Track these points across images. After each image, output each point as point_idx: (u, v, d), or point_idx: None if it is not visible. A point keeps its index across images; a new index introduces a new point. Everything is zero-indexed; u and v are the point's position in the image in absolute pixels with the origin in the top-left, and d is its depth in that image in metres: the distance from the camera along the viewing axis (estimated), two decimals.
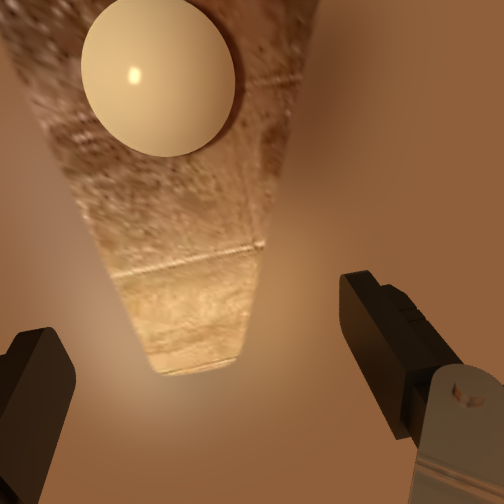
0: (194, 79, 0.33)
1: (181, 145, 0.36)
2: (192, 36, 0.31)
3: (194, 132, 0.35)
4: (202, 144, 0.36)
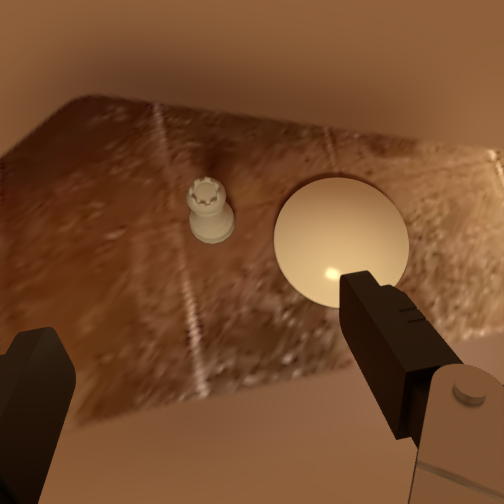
0: (337, 211, 0.37)
1: (396, 225, 0.36)
2: (303, 211, 0.37)
3: (383, 213, 0.37)
4: (393, 206, 0.37)
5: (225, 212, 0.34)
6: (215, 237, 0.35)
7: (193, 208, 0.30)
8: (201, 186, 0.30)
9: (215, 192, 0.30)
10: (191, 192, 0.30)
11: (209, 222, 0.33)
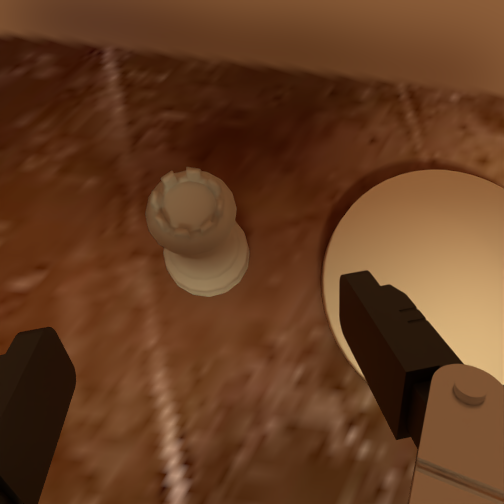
0: (438, 231, 0.20)
1: None
2: (375, 233, 0.20)
3: None
4: None
5: (233, 240, 0.17)
6: (214, 287, 0.18)
7: (162, 241, 0.13)
8: (179, 189, 0.13)
9: (212, 203, 0.13)
10: (156, 204, 0.13)
11: (200, 264, 0.16)
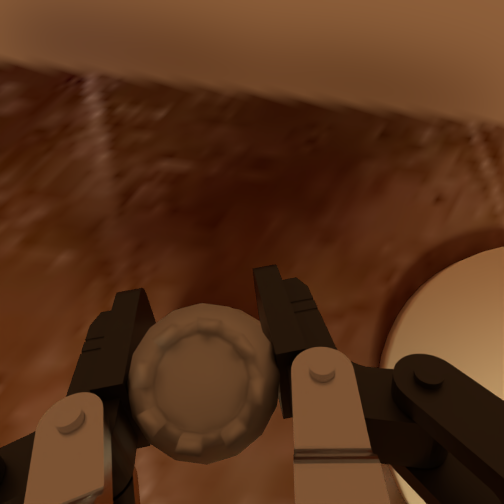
0: None
1: None
2: (453, 337, 0.14)
3: None
4: None
5: None
6: None
7: (154, 441, 0.08)
8: (184, 353, 0.08)
9: (241, 379, 0.07)
10: (144, 386, 0.07)
11: None
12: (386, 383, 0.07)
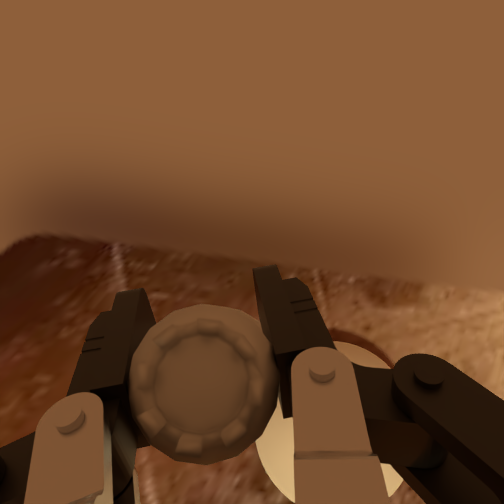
0: None
1: None
2: None
3: None
4: None
5: None
6: None
7: (154, 442, 0.08)
8: (184, 354, 0.08)
9: (241, 380, 0.07)
10: (144, 387, 0.07)
11: None
12: (386, 383, 0.07)
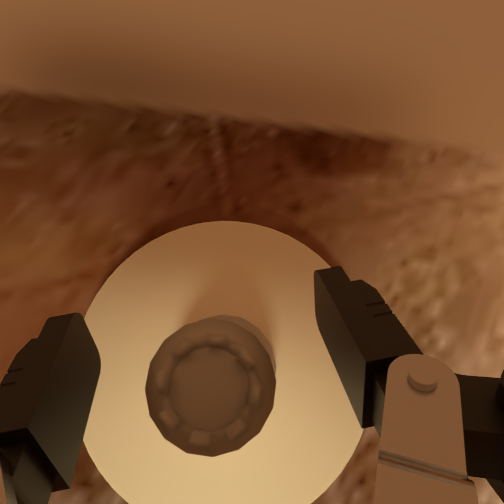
0: (217, 295, 0.17)
1: None
2: (143, 298, 0.17)
3: None
4: None
5: None
6: None
7: (169, 437, 0.09)
8: (195, 363, 0.09)
9: (243, 385, 0.09)
10: None
11: None
12: (489, 392, 0.07)
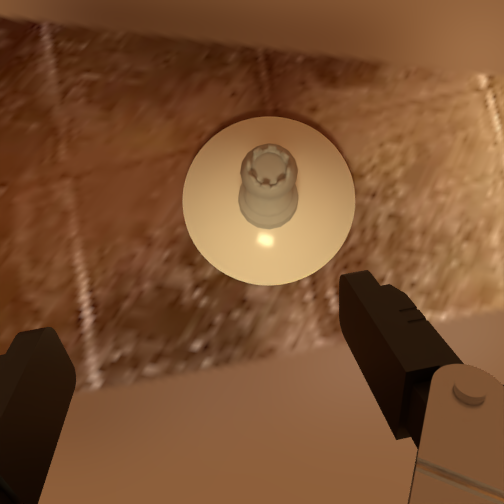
0: None
1: (340, 179, 0.28)
2: (220, 162, 0.29)
3: (324, 163, 0.28)
4: (338, 154, 0.28)
5: None
6: (273, 223, 0.26)
7: (251, 190, 0.21)
8: (263, 157, 0.21)
9: (283, 167, 0.21)
10: (249, 167, 0.20)
11: (268, 206, 0.24)
12: None
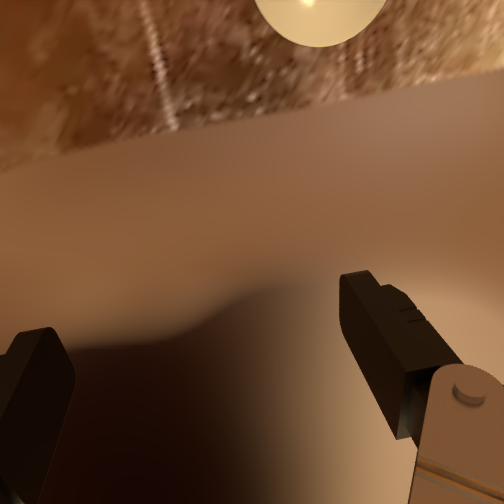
0: None
1: None
2: None
3: None
4: None
5: None
6: None
7: None
8: None
9: None
10: None
11: None
12: None
